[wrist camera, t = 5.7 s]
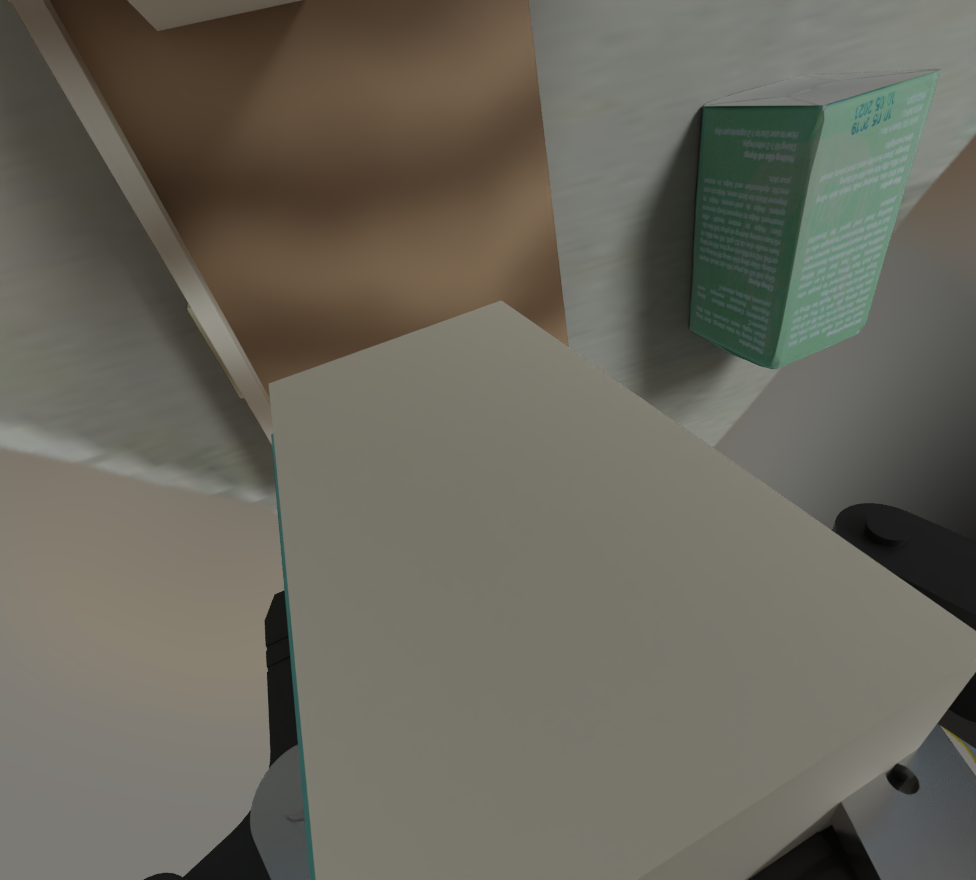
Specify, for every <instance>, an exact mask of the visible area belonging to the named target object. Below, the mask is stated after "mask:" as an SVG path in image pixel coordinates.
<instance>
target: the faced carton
mask: <svg viewBox="0 0 976 880" xmlns="http://www.w3.org/2000/svg"><path fill="white" fill-rule="evenodd" d="M127 1H128V2H129V3H130V4H131V5H132V6H133V7H134V8H135V9H136V10H137V11H138V12H139V13H140V14H141V15H142V16H143V17H144V18H145V19H146V20H147V21H148V22H149V23H150V24H151V25H152V26H153V27H154V28H155V29H156V30H157V31H161V30H165V29H170V28H175V27H179V26H184V25H189V24H193V23H198V22H203V21H207V20H212V19H217V18H221V17H226V16H231V15H235V14H240V13H245V12H250V11H254V10H259V9H264V8H268V7H273V6H278V5H282V4H287V3H292V2H296V1H301V0H127Z"/></svg>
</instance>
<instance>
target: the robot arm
mask: <svg viewBox="0 0 976 880" xmlns="http://www.w3.org/2000/svg"><path fill="white" fill-rule="evenodd" d="M832 531H833V532H835V533H836V534H837V535H839V536H840V537H842V538H843V539H845V540H846V541H847V542H849V543H850V544H852V545H853V546H855V547H856V548H857V549H859V550H860V551H862V552H863V553H865V554H866V555H868V556H869V557H870V558H872V559H873V560H875V561H876V562H878V563H879V564H880V565H882V566H883V567H885V568H886V569H888V570H889V571H890V572H892V573H893V574H895V575H896V576H898V577H899V578H901V579H902V580H903V581H905V582H906V583H908V584H909V585H911V586H912V587H913V588H915V589H916V590H918V591H919V592H921V593H922V594H923V595H925V596H926V597H928V598H929V599H931V600H932V601H934V602H935V603H936V604H938V605H939V606H941V607H942V608H944V609H945V610H946V611H948V612H949V613H951V614H952V615H954V616H955V617H956V618H958V619H959V620H961V621H962V622H964V623H965V624H967V625H968V626H969V627H971V628H972V629H974V630H975V631H976V541H974V540H972V539H970V538H967V537H965V536H963V535H960V534H958V533H955V532H953V531H951V530H948V529H946V528H944V527H941V526H939V525H937V524H935V523H932V522H930V521H928V520H925V519H923V518H921V517H918V516H916V515H914V514H911V513H909V512H907V511H904V510H902V509H899V508H896V507H892V506H887V505H883V504H874V503H864V504H857V505H853V506H850V507H848V508H846V509H844V510H843V511H841V512H840V513H839V515H838V516H837V518H836V520H835V524H834V527H833V530H832ZM265 639H266V647H267V651H266V661H267V668H268V672H267V682H268V683H267V684H268V704H269V705H268V706H269V729H270V750H271V753H270V765H269V770H268V771H267V772H266V774H265V775H264V777H263V779H262V780H261V782H260V784H259V787H258V788H257V791H256V793H255V796H254V799H253V802H252V807H251V810H250V812H249V813H248V815H247V816H246V817H245V818H244V819H243V821H242V822H241V823H240V824H239V825H238V826H237V827H236V828H235V829H234V830H233V831H232V832H231V834H229V835H228V836H227V837H226V838H225V839H224V840H223V841H222V842H221V843H220V844H218V845H217V846H216V847H215V848H214V849H213V850H212V851H211V852H210V853H209V854H208V855H207V856H206V857H204V858H203V859H202V860H201V861H200V862H199V863H198V864H197V865H196V866H195V867H194V868H193V869H191V870H190V871H189V872H188V873H187V874H186V875H185V876H184V877H181V876H179V875H176V874H173V873H161V874H156V875H153V876H151V877H148V878H146V879H144V880H310V876H309V864H308V853H307V841H306V830H305V818H304V807H303V796H302V784H301V773H300V761H299V750H298V738H297V727H296V715H295V704H294V692H293V681H292V670H291V658H290V647H289V635H288V624H287V612H286V601H285V590H284V591H282V592H279V593H277V594H275V595H274V598H273V600H272V603H271V606H270V608H269V611H268V614H267V617H266V619H265ZM940 725H941V726H942V727H944V728H945V729H947V730H948V731H950V732H951V733H953V734H954V735H956V736H957V737H959V738H960V739H962V740H963V741H965V742H966V743H968V744H969V745H971V746H972V747H974V748H975V749H976V672H975V674H974V675H973V676H972V678H971V679H970V680H969V682H968V683H967V684H966V686H965V687H964V688H963V690H962V691H961V692H960V694H959V695H958V696H957V698H956V699H955V700H954V702H953V703H952V704H951V706H950V707H949V708H948V710H947V711H946V712H945V714H944V715H943V716H942V718H941V719H940V720H939V722H938V723H937V724H936V726H935V727H934V728H933V730H932V731H931V732H930V734H929V735H928V736H927V738H926V739H925V740H924V742H923V743H922V744H921V746H920V747H919V748H918V749H917V750H915V751H914V752H912V753H911V754H909V755H908V756H906V757H905V758H904V759H902V760H901V761H899V762H898V763H896V765H895V766H894V767H893V769H892V770H891V772H890V773H889V774H888V776H887V777H886V775H885V772H883V773H882V774H880V775H879V776H877V777H876V778H874V779H873V780H871V781H870V782H868V783H867V784H866V785H864V786H863V787H861V788H860V789H858V790H857V791H855V792H854V793H852V794H851V795H849V796H848V797H846V798H845V799H844V800H842V801H841V802H840V804H839V805H838V807H837V809H836V810H835V812H834V813H833V815H832V817H831V818H830V821H831V824H832V825H831V826H829V827H828V828H826V829H824V830H823V831H821V832H816V833H815V834H814V835H812V836H811V837H809V838H808V839H806V840H805V841H803V842H802V843H801V844H799V845H798V846H796V847H795V848H793V849H792V850H790V851H789V852H788V853H786V854H785V855H783V856H782V857H780V858H779V859H777V860H776V861H775V862H773V863H772V864H770V865H769V866H767V867H766V868H764V869H763V870H761V871H760V872H759V873H757V874H756V875H754V876H753V877H751V878H750V879H748V880H976V776H975V774H974V773H973V771H972V770H971V769H970V767H969V766H968V764H967V763H966V762H965V760H964V759H963V757H962V756H961V755H960V753H959V752H958V750H957V749H956V748H955V746H954V745H953V743H952V742H951V741H950V739H949V738H948V736H947V735H946V734H945V732H944V731H943V730H942V728H941V726H940Z"/></svg>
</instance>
